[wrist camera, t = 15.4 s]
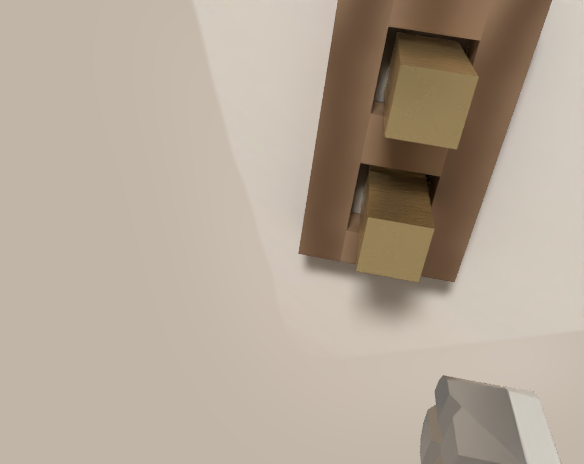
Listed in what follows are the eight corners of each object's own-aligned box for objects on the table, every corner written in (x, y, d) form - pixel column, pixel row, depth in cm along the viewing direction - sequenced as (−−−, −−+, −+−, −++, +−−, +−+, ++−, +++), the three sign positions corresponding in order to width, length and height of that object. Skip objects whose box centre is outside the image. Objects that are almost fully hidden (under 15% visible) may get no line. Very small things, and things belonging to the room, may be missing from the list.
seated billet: (457, 41, 35) (478, 76, 28) (441, 101, 38) (457, 149, 30) (396, 31, 36) (400, 64, 28) (384, 91, 38) (384, 137, 30)
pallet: (539, -7, 33) (552, -1, 31) (450, 260, 44) (454, 282, 41) (345, -37, 34) (343, -32, 32) (303, 233, 44) (298, 253, 42)
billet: (424, 168, 40) (434, 228, 32) (411, 215, 42) (418, 282, 35) (370, 159, 40) (368, 217, 33) (360, 206, 42) (356, 271, 35)
